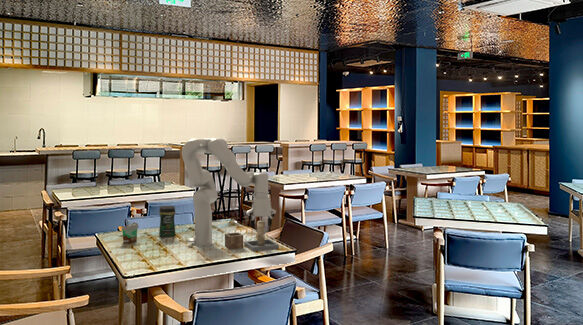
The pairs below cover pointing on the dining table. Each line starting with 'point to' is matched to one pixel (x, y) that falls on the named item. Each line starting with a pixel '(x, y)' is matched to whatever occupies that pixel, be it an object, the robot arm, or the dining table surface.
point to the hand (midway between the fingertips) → (261, 226)
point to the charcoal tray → (268, 245)
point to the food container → (130, 233)
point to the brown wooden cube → (233, 240)
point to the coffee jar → (167, 221)
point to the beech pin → (260, 233)
